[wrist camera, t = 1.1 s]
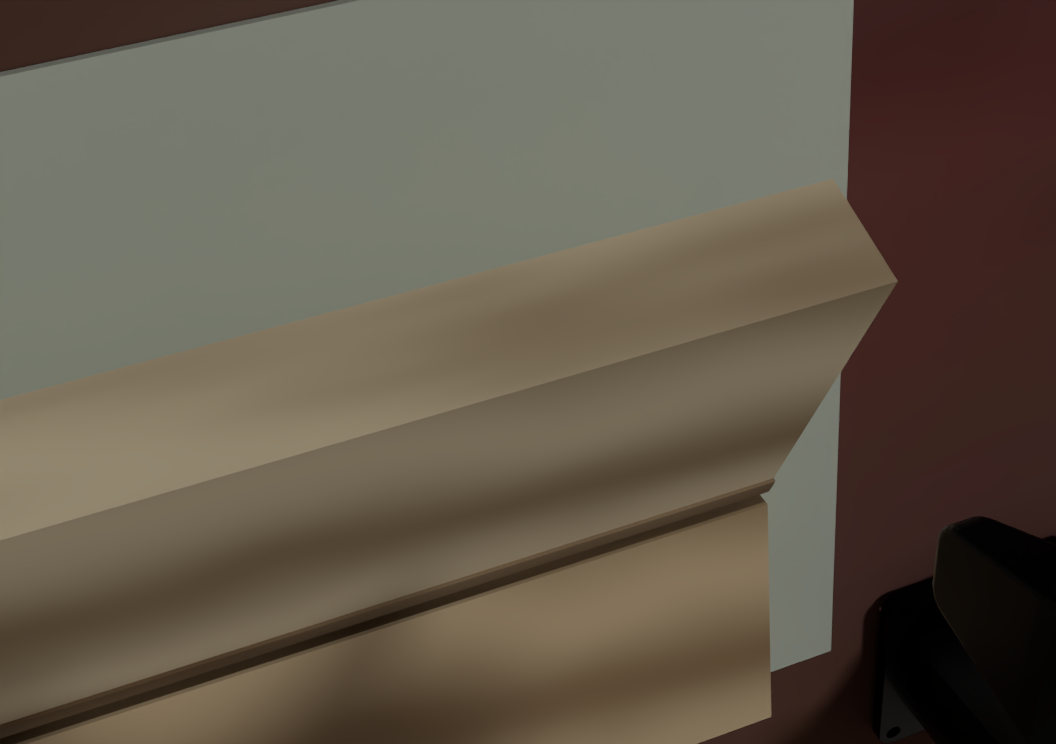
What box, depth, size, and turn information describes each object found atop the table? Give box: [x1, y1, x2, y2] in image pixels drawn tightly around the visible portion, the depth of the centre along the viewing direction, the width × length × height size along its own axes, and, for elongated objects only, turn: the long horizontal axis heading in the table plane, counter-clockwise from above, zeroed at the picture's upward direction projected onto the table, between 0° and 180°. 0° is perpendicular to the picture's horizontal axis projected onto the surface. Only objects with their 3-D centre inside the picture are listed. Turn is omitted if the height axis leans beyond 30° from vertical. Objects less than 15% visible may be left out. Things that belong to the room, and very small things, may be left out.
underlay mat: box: [0, 0, 854, 672], centre depth 20 cm, size 20×30×1 cm, turn 99°
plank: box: [0, 179, 898, 738], centre depth 15 cm, size 8×24×2 cm
